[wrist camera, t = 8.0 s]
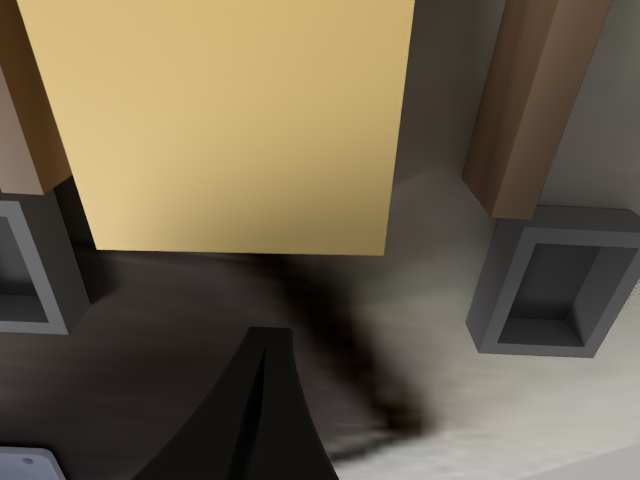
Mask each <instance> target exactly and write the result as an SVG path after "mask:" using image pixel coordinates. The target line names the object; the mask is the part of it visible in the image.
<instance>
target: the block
mask: <svg viewBox="0 0 640 480" xmlns="http://www.w3.org/2000/svg"><path fill="white" fill-rule="evenodd" d="M17 3H18V6H19V9H20V12H21V15H22V18H23V21H24V24H25V28H26V31H27V34H28V37H29V40H30V43H31V46H32V49H33V52H34V56H35V59H36V62H37V65H38V68H39V71H40V74H41V77H42V80H43V84H44V87H45V90H46V93H47V96H48V99H49V102H50V105H51V108H52V111H53V115H54V118H55V121H56V124H57V127H58V130H59V133H60V136H61V139H62V143H63V146H64V149H65V152H66V155H67V158H68V161H69V164H70V167H71V171H72V174H73V177H74V180H75V183H76V186H77V189H78V192H79V195H80V199H81V202H82V205H83V208H84V211H85V214H86V217H87V220H88V223H89V227H90V230H91V233H92V236H93V239H94V242H95V245H96V248H97V250H139V251H186V252H234V253H281V254H328V255H375V256H384V248H385V240H386V232H387V224H388V216H389V207H390V199H391V191H392V183H393V175H394V167H395V158H396V150H397V142H398V134H399V126H400V118H401V110H402V101H403V93H404V85H405V77H406V69H407V61H408V52H409V44H410V36H411V28H412V20H413V12H414V3H415V0H17Z"/></svg>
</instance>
